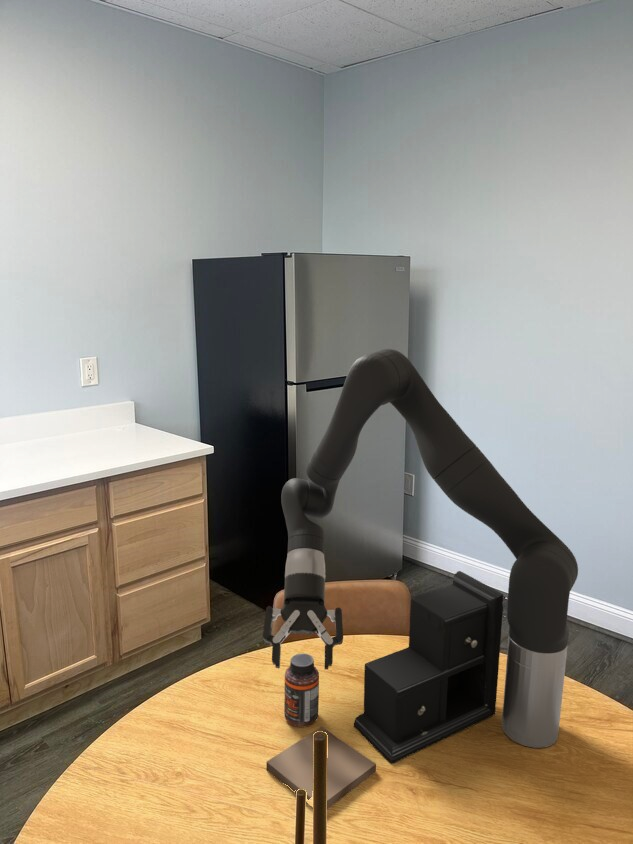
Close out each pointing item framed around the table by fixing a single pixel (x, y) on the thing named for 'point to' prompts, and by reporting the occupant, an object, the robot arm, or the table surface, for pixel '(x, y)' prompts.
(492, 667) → the black drawer cabinet
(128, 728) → the table surface
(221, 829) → the table surface
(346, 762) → the brown flat square block
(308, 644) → the table surface
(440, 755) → the table surface
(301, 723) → the supplement bottle
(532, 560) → the robot arm
